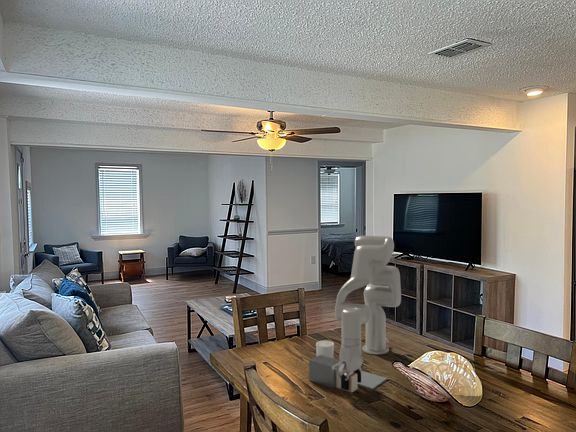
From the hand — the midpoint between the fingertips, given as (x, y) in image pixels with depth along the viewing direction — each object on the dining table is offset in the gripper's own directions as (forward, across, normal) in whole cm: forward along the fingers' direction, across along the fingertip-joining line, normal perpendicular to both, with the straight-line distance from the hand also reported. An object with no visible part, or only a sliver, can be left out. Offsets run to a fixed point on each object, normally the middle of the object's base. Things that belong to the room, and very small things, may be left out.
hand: (351, 385), depth 169 cm
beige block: (+2, 0, -4) cm, 5 cm away
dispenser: (+2, 0, -12) cm, 12 cm away
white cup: (+2, -13, -22) cm, 25 cm away
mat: (+2, -11, 0) cm, 11 cm away
